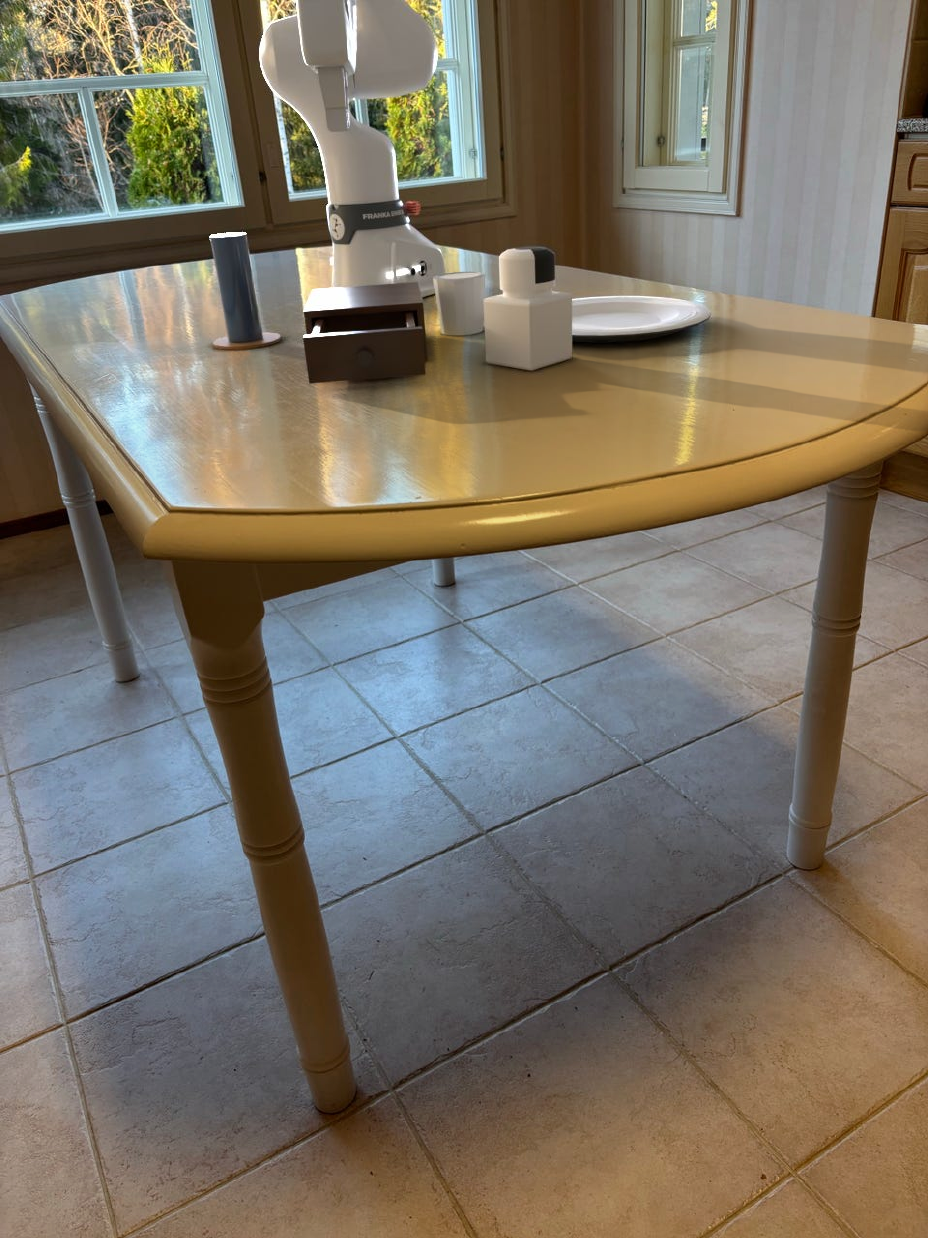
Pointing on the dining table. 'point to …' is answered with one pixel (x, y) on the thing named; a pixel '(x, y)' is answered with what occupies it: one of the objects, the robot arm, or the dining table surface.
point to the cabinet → (366, 303)
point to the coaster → (265, 341)
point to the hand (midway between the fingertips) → (339, 131)
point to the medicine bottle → (528, 312)
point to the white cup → (460, 302)
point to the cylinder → (236, 287)
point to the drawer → (364, 347)
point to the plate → (632, 318)
